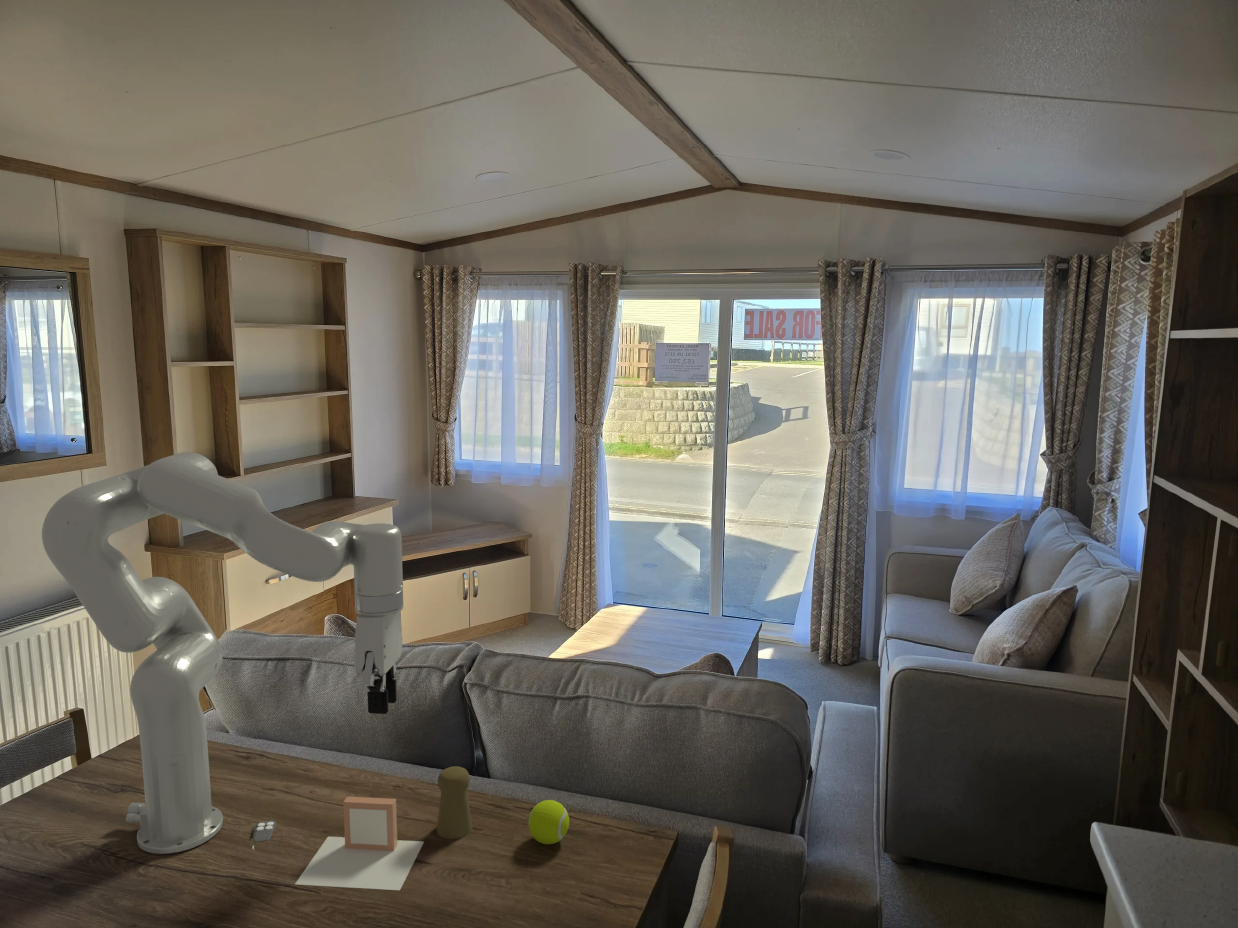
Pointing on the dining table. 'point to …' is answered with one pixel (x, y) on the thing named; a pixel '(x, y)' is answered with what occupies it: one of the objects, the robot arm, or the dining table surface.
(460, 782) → the cork
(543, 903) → the dining table surface
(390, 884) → the mat
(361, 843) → the tile
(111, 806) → the dining table surface
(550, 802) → the tennis ball
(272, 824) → the key chain
